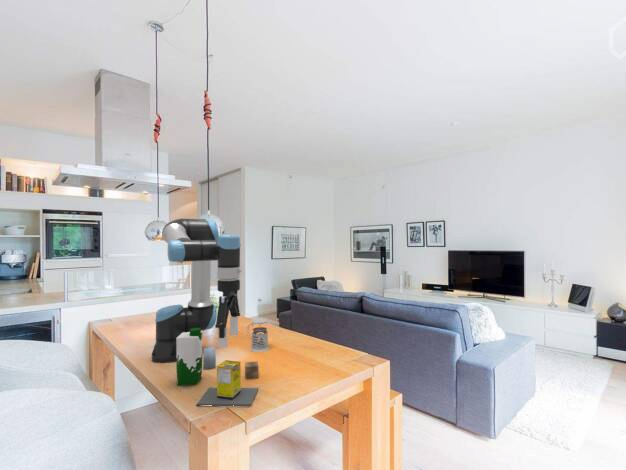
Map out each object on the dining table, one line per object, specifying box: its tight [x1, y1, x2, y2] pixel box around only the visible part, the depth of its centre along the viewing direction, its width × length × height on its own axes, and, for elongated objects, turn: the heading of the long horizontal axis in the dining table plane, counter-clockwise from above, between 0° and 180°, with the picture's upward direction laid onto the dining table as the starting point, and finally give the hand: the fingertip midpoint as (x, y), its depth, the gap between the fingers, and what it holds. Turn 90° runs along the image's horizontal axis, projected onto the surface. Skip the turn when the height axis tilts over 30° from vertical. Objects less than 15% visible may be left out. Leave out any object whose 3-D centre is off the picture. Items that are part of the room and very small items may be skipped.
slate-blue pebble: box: [202, 346, 217, 371], centre depth 142 cm, size 5×5×8 cm
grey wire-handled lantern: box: [246, 298, 270, 353], centre depth 167 cm, size 10×12×25 cm
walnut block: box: [244, 361, 259, 381], centre depth 133 cm, size 5×5×5 cm
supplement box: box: [216, 359, 242, 400], centre depth 115 cm, size 6×6×11 cm
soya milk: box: [176, 328, 203, 386], centre depth 128 cm, size 9×9×20 cm
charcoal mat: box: [196, 387, 259, 407], centre depth 115 cm, size 18×12×1 cm, turn 88°
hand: (228, 340), depth 115 cm, fingers open, 13 cm apart
